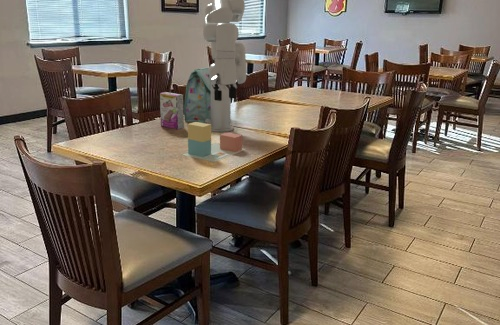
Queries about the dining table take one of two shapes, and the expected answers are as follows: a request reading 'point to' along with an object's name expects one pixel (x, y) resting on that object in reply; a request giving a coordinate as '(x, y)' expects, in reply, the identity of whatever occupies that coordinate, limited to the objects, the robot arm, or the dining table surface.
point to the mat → (214, 148)
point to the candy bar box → (171, 110)
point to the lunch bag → (198, 96)
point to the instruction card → (218, 155)
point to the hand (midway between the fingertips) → (225, 99)
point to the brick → (231, 142)
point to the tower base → (199, 148)
